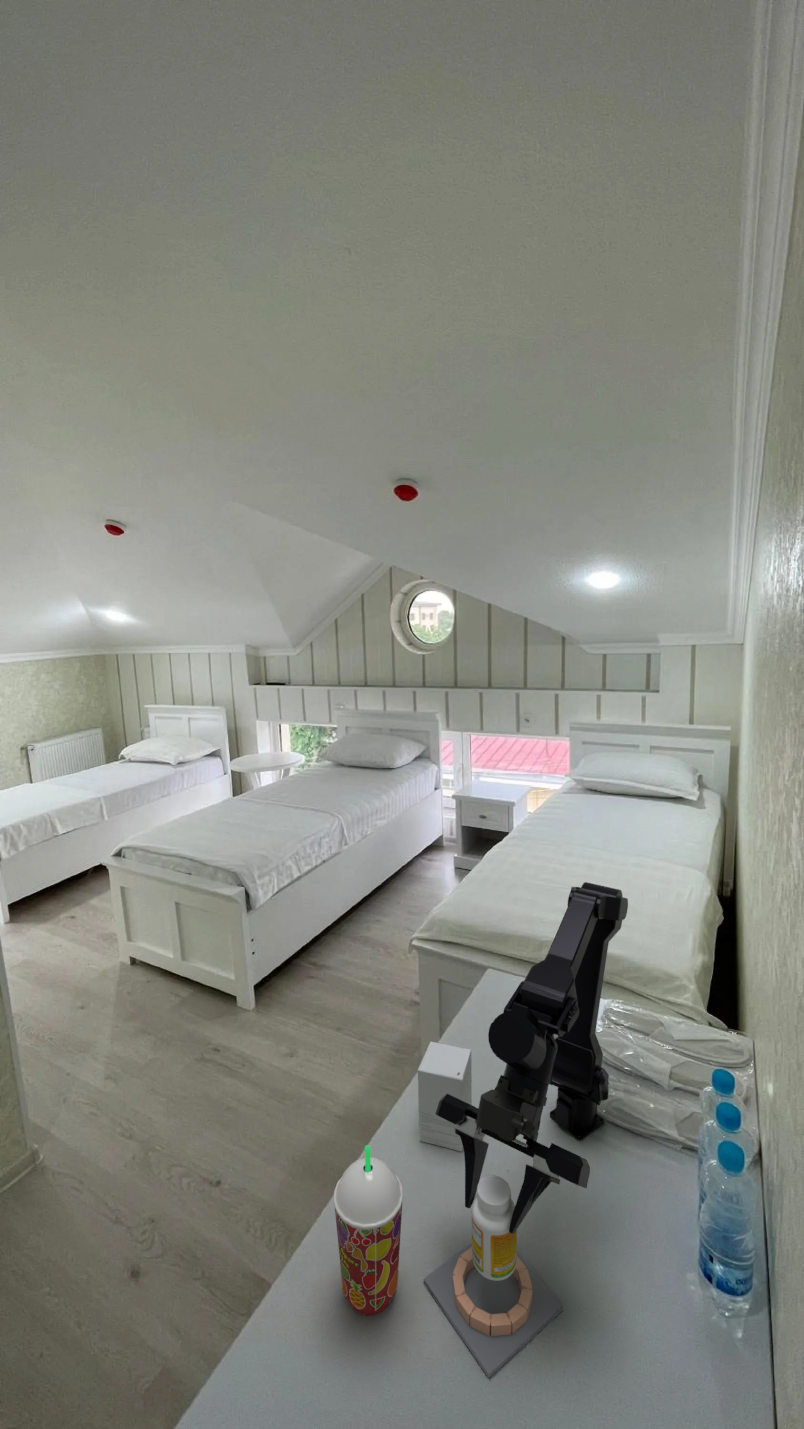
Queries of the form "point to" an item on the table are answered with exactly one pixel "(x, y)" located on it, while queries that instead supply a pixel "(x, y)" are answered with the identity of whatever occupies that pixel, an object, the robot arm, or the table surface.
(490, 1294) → the ring seat
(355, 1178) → the smoothie
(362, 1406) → the table surface
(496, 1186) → the supplement bottle
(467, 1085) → the supplement box
